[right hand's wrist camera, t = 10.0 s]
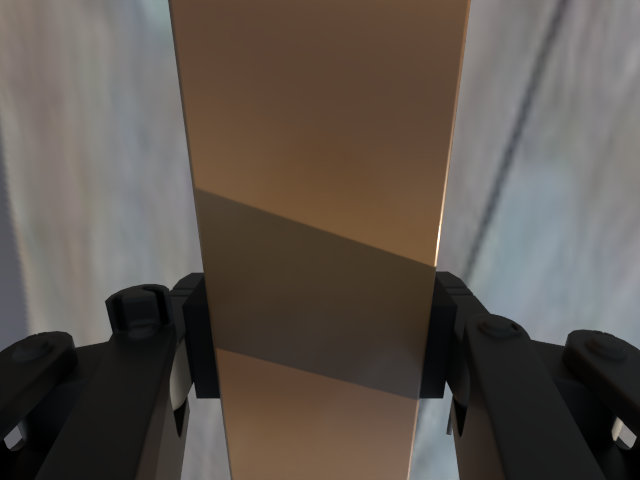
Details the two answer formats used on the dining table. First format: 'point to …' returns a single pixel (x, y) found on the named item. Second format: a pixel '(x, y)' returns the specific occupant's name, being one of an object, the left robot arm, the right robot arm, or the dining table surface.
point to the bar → (319, 219)
